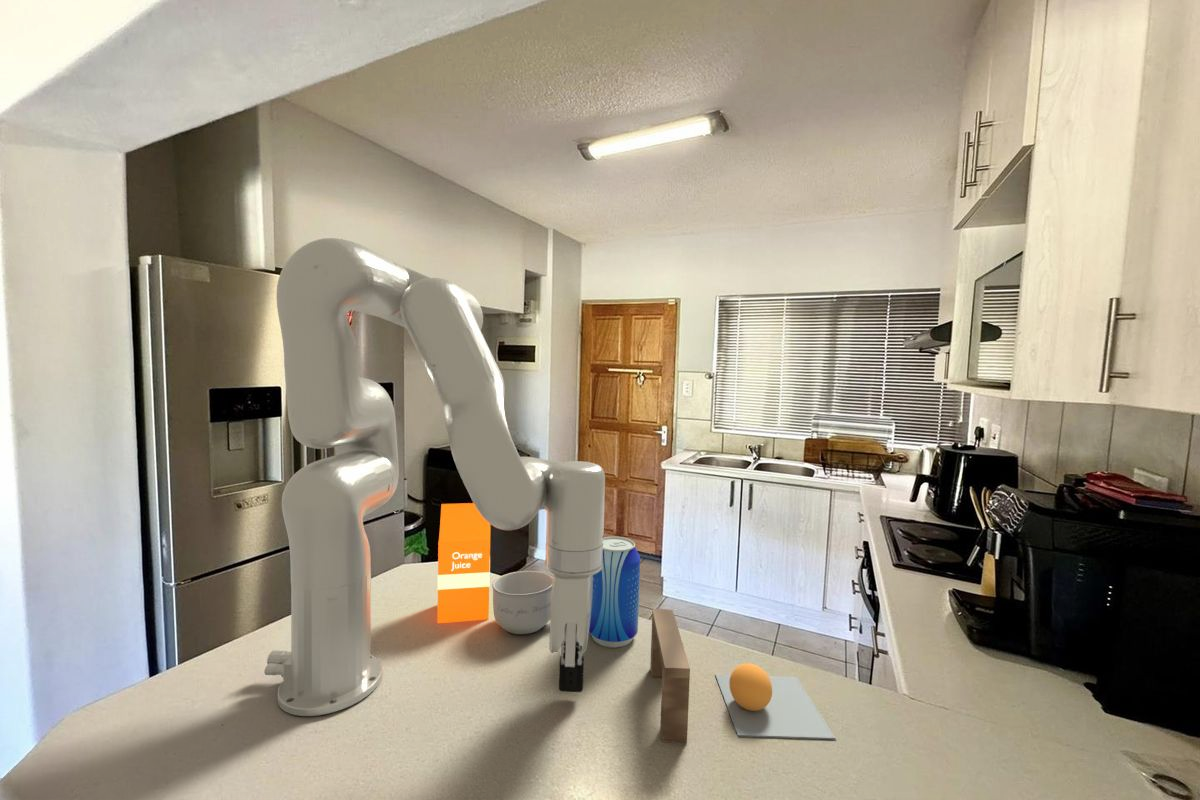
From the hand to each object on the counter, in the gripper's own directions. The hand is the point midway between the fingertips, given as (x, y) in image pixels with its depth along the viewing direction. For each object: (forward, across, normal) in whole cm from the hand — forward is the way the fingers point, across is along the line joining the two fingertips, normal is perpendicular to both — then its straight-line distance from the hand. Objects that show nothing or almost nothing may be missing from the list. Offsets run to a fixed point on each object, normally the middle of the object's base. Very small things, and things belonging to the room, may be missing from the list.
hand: (571, 687), depth 66 cm
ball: (-1, 0, +24) cm, 24 cm away
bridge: (+2, 0, +13) cm, 13 cm away
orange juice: (+2, -23, -21) cm, 31 cm away
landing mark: (+2, 0, +27) cm, 27 cm away
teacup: (+2, -19, -8) cm, 21 cm away
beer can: (+2, -16, +6) cm, 17 cm away
